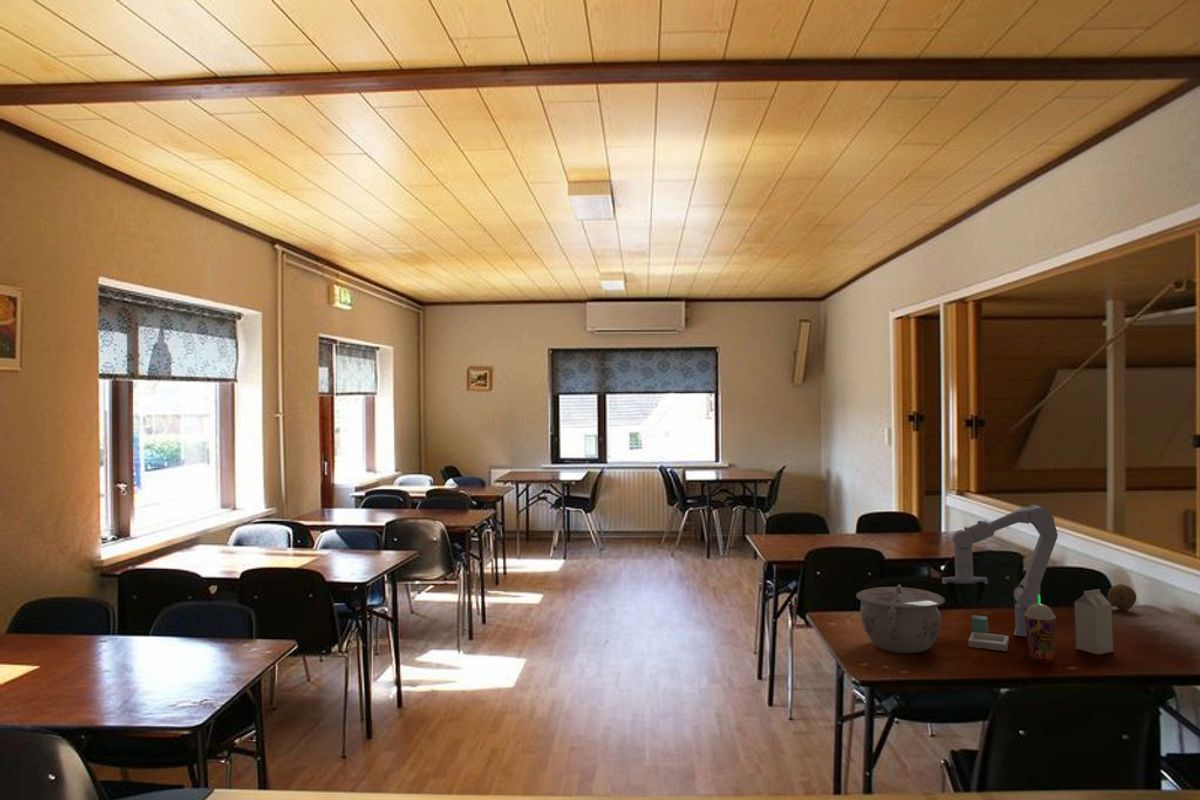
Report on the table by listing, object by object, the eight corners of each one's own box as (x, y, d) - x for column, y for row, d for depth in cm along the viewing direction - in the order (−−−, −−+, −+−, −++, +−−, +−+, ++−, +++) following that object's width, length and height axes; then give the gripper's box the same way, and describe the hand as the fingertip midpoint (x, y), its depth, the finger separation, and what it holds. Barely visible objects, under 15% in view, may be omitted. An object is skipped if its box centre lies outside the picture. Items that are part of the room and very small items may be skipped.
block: (988, 634, 265) (987, 616, 265) (987, 637, 261) (986, 619, 262) (973, 632, 268) (973, 615, 268) (972, 635, 264) (971, 618, 264)
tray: (1008, 642, 255) (1008, 635, 255) (1006, 651, 246) (1006, 644, 246) (972, 638, 261) (971, 631, 261) (968, 646, 251) (968, 640, 252)
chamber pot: (904, 632, 270) (901, 572, 271) (967, 653, 245) (964, 588, 245) (838, 642, 260) (836, 581, 261) (897, 666, 235) (894, 597, 235)
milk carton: (1076, 649, 246) (1073, 589, 246) (1092, 646, 248) (1089, 587, 249) (1097, 655, 239) (1094, 593, 240) (1113, 652, 242) (1110, 591, 242)
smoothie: (1042, 666, 231) (1039, 598, 231) (1020, 658, 239) (1017, 593, 239) (1064, 662, 233) (1061, 596, 234) (1041, 655, 241) (1038, 590, 242)
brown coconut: (1123, 614, 284) (1121, 587, 285) (1102, 609, 293) (1100, 583, 293) (1142, 612, 287) (1141, 585, 287) (1121, 607, 295) (1120, 581, 296)
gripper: (981, 562, 272) (983, 601, 272) (938, 563, 274) (940, 601, 274) (989, 566, 265) (991, 606, 265) (944, 567, 267) (946, 606, 267)
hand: (965, 604), depth 269 cm, fingers open, 7 cm apart
